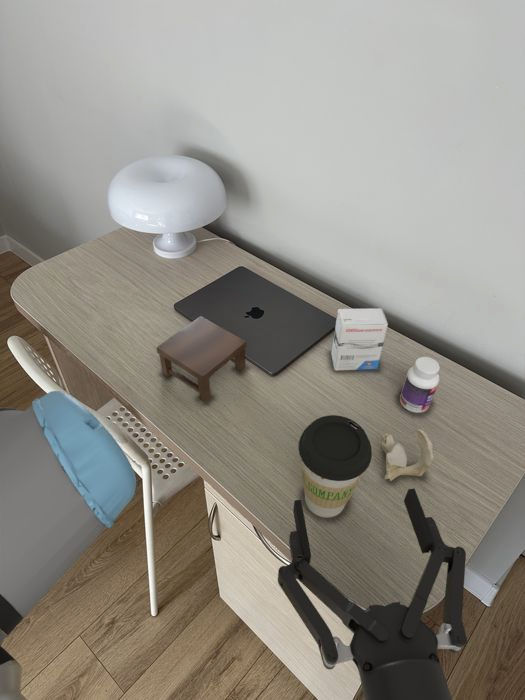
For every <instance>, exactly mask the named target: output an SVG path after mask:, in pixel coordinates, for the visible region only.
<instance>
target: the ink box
mask: <svg viewBox="0 0 525 700" xmlns="http://www.w3.org/2000/svg"><path fill="white" fill-rule="evenodd" d="M388 327H389V323H388V320H387V317H386V315H385V312H384V310H383V308H338V309H337V314H336V320H335V326H334V335H333V340H332V346H331V352H330V353H331V359H332V365H333V369H334V371H362V370H378V368H379V364H380V360H381V356H382V351H383V347H384V344H385V340H386V335H387V330H388Z"/></svg>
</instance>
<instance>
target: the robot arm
mask: <svg viewBox="0 0 525 700" xmlns="http://www.w3.org/2000/svg"><path fill="white" fill-rule="evenodd" d="M135 473H136V472H135V470H134V468H133V466H132V464H131V462H130V460H129V458H128V457H127V455H126V453H125V451H123V448H122V447H121V446H120V444H119V443H118V442H117V440H116V439H115V437H114V436H113V435H112V434H111V433H110V431H109V430H108V429H107V427H105V425H103V423H102V422H101V421H100V420H99V418H97V417H96V416H95V415H94V414H93V413H92V412H91V411H90V410H89V409H88V408H87V407H86V406H85V405H83V404H82V403H81V402H80V401H78V400H77V399H76V398H75V397H73V396H72V395H70V394H68V393H66V392H64V391H60V390H53V391H49V392H48V393H46V394H44V395H43V396H42V397H36V398H35V399H34V400H33V401H32V404H31V405H29V407H28V408H26V409H25V410H22V409H19V408H13V407H0V700H28V699H27V697H25V695H23V694H22V691H21V688H22V674H23V673H22V672H23V668H22V667H23V666H22V665H21V664H20V663H19V662H18V661H17V660H16V659H15V658H14V657H13V656H12V655H11V654H10V653H9V652H8V651H7V650H6V649H5V648H4V647H3V646H2V643H3V642H4V641H5V639H6V638H7V637H8V636H9V635H10V634H11V633H12V632H13V631H14V630H15V629H16V628H17V626H19V624H20V623H21V622H22V621H23V620H24V619H25V618H26V617H27V616H28V615H29V614H30V613H31V612H32V611H33V609H34V608H35V607H37V605H38V604H39V603H40V602H41V601H42V599H43V598H44V597H45V596H46V595H47V594H48V593H49V592H50V591H51V590H52V588H53V587H54V586H55V585H56V584H57V583H58V582H59V581H60V580H61V579H62V577H63V576H64V575H65V574H66V573H67V572H68V571H69V570H70V568H72V566H73V565H74V564H75V563H76V562H77V561H78V560H79V559H80V558H81V557H82V556H83V555H84V553H85V552H86V551H87V550H88V549H89V548H90V547H91V546H92V544H93V543H95V541H96V540H97V539H98V538H99V537H100V535H102V533H103V532H105V530H106V529H107V528H108V529H109V528H112V527H113V526H114V525H115V522H116V519H117V518H118V517H119V516H120V514H121V512H122V511H123V510H124V509H125V508H126V506H128V504H129V503H130V502H131V501H132V500H133V498H134V496H135V493H136V489H137V483H138V482H137V477H136V474H135ZM403 503H404V506H405V509H406V511H407V514H408V517H409V520H410V523H411V526H412V528H413V529H412V530H413V532H414V534H415V536H416V540H417V542H418V545H419V548H420V551H421V554H429V553H430V554H429V557H428V560H427V563H426V565H425V567H424V569H423V571H422V574H421V577H420V579H419V581H418V583H417V586H416V588H415V590H414V593H413V595H412V598H411V600H410V601H409V604H408V606H407V605H406V604H402V603H401V602H400V601H396V602H391V603H389V604H386V605H382V604H370V605H369V606H368V607H367V608H365V609H363V608H362V607H360V606H359V604H357V603H356V602H354V601H352V600H350V599H349V598H348V597H346V595H344V594H343V593H342V592H341V591H340V590H339V589H338V588H337V587H336V586H334V585H333V584H332V583H331V582H330V581H329V580H328V579H327V578H325V577H324V576H323V575H322V574H321V573H320V572H319V571H318V570H317V569H315V568H314V566H312V565H311V559H312V551H311V545H310V541H309V535H308V530H307V525H306V520H305V519H306V518H305V514H304V508H303V502H302V499H295V500H294V502H293V511H292V512H293V518H294V524H295V530H294V531H290V533H289V537H288V545H289V546H288V547H289V551H290V552H289V553H290V557H291V562H290V563H289V564H287V565H281V566H280V567H279V568H278V572H277V584H278V586H279V587H280V589H281V590H282V591H283V593H284V594H285V596H286V598H287V600H288V601H289V602H290V604H291V605H292V607H293V608H294V610H295V612H296V613H297V615H298V616H299V618H300V620H301V621H302V622H303V624H304V626H305V627H306V629H307V630H308V632H309V633H310V635H311V636H312V638H313V639H314V641H315V643H316V644H317V647H318V651H319V653H320V657H321V662H322V665H323V667H324V668H325V669H327V670H333V669H334V668H335V667H336V665H338V664H339V665H340V664H342V663H346V662H350V661H352V662H353V663H354V664H355V666H356V668H357V671H358V674H359V680H360V682H361V688H362V692H363V693H362V694H363V698H364V700H453V697H452V694H451V691H450V687H449V684H448V682H447V679H446V675H445V672H444V669H443V666H442V664H441V662H440V659H439V655H438V650H449V652H450V653H453V654H458V653H459V652H460V651H461V650H462V649H463V648H464V647H465V646H466V645H467V643H468V638H467V633H466V630H465V625H464V623H463V607H464V606H463V605H464V590H465V589H464V588H465V576H466V575H465V574H466V558H467V552H466V550H465V549H464V547H462V546H456V547H453V546H449V545H447V544H446V543H445V542H444V541H443V538H442V536H441V533H440V531H439V528H438V525H437V522H436V520H435V519H434V518H433V517H432V516H427V517H426V515H425V513H424V509H423V507H422V504H421V501H420V499H419V496H418V493H417V491H416V488H408V489H407V492H406V494H405V497H404V499H403ZM443 563H446V564H447V568H446V580H445V590H444V591H445V593H444V602H443V603H444V604H443V611H442V612H443V613H442V624H441V625H440V626H439V627H438V630H437V631H438V633H437V634H436V633H435V631H433V630H432V629H431V627H429V626H428V624H426V623H425V622H424V621H423V620H422V616H423V613H424V611H425V609H426V607H427V603H428V600H429V597H430V595H431V592H432V590H433V587H434V585H435V582H436V580H437V577H438V574H439V572H440V570H441V568H442V565H443ZM300 583H301V584H302V585H303V586H304V587H305V588H306V589H308V591H310V593H312V594H313V595H314V596H315V597H316V598H317V600H319V601H320V602H321V603H322V604H323V605H325V606H326V607H327V608H328V609H329V610H330V611H331V612H332V613H333V614H334V615H336V616H337V617H338V618H339V620H340V621H341V622H342V624H343V625H344V626H345V627H346V628H347V629H348V630H349V631H350V632H351V633H352V634H353V635H352V638H351V641H350V643H349V645H345V644H344V643H343V642H342V640H341V638H340V637H339V636H333V633H332V631H331V629H330V628H329V626H328V624H327V623H326V621H325V620H324V618H323V617H322V616H321V614H320V612H319V611H318V609H317V607H315V604H314V603H313V602H312V600H311V599H310V597H309V596H308V594H307V593H306V591H305V589H303V587H302V586H301V584H300Z"/></svg>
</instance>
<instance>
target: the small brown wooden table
mask: <svg viewBox="0 0 525 700" xmlns="http://www.w3.org/2000/svg"><path fill="white" fill-rule="evenodd" d="M246 348H247V341H246V340H244V339H243V338H241V337H239V336H237V335H236V334H234V333H232V332H230V331H228V330H227V329H225V328H223V327H221V326H220V325H218V324H216V323H214V322H213V321H212V320H209V319H207V318H205V317H204V316H202V315H200V316H199V317H197V318H196V319H195V320H193V321H192V322H190V323H189V324H187V325H186V326H185V327H183V328H181V329H180V330H179V331H177V332H176V333H175V334H173V335H172V336H171V337H169V338H167V339H166V340H164V342H162V343H160V344H159V345H157V346H156V353H157V354H158V355H159V360H160V367H161V372H162V375H164V377H167V378H169V377H170V376H173V377H175V378H176V379H177V380H179V381H181V382H182V383H183V384H185V385H187V386H188V387H190V388H191V389H193V390H195V391H196V392H197V393H198V394H199V399H200V400H201V401H203V402H204V403H206V402H208V401H209V400H211V397H212V396H211V387H210V378H211V377H212V376H213V375H214V374H215V373H217V372H218V371H219V370H220V369H221V368H223V367H224V366H225V365H226V364H228V363H229V362H231V363H234V367H235V370H236V371H238V372H240V373H242V372H243V371H244V370H245V369H246ZM172 364H174V365H175V366H177V367H179V368H180V369H182V370H183V371H185V372H187V373H188V374H190V375H191V376H193V378H196V379H197V383H196V382H194V381H193V380H191V379H190V378H188V377H187V376H186V375H184V374H183V373H181V372H179V371H178V370H176V369H174V368H173V365H172Z"/></svg>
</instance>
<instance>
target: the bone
mask: <svg viewBox="0 0 525 700" xmlns="http://www.w3.org/2000/svg"><path fill="white" fill-rule="evenodd" d="M413 434H414V435H413V437H414V440H415V442H416V443H417V445H418V446H419V449H420V457H419V458H418V461H417V462H415V463H413V464H410V465H407V462H408V458H407V457H408V456H407V453H406V451H405V449H404V447H403V445H402V444H400V443H399V442H397V441H395V439H394V436H393V435H392V434H390V433H388V432H387V433H384V434H382V435H381V436H380V437H381V440H382V441H381V447H382V450H383V452H384V453H385V475H384V480H389V481H390V482H392V481H393V480H394V479H395V478H397V477H400V476H417V477H422V476H423V475H424V474H425V472H426V471H427V470H428V469H429V468H430V466H431V465H432V464H433V461H434V459H435V455H434V445H433V443H432V441H431V440H430V439H429V436H428V434H427V432H425V430H423V429H420V428H417V429H414V430H413Z"/></svg>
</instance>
